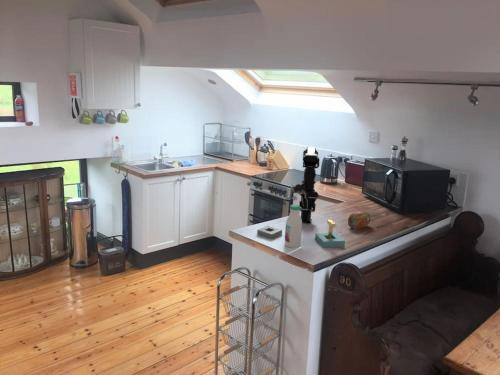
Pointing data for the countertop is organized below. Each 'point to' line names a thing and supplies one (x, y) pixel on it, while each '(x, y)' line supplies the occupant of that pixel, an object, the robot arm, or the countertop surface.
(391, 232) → the countertop surface
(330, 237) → the brass T-key
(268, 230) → the charcoal socket block
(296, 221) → the milk bottle
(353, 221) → the tin
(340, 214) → the countertop surface
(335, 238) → the teal square socket block
